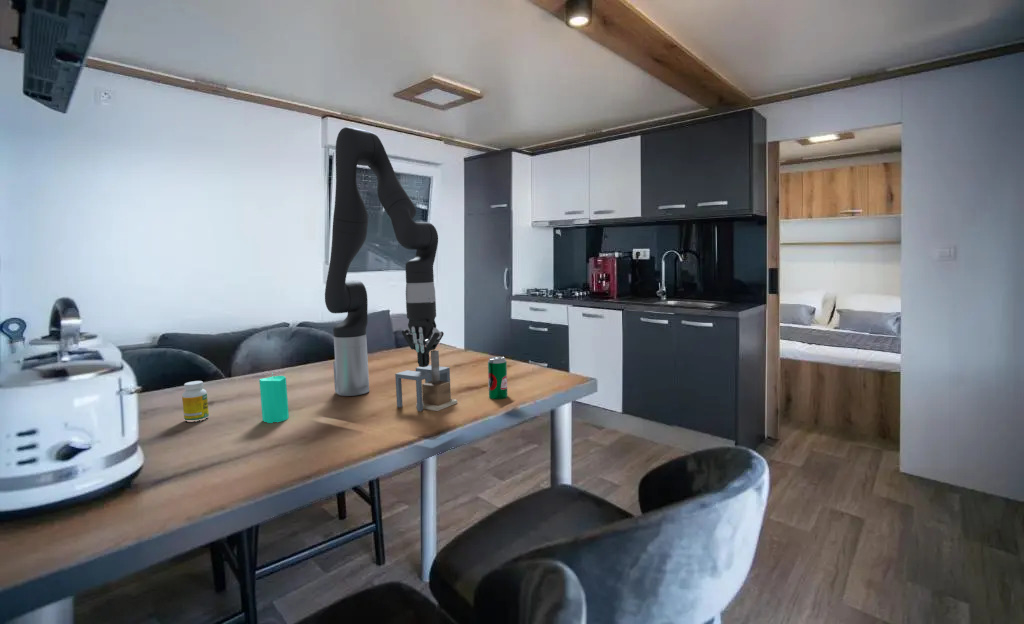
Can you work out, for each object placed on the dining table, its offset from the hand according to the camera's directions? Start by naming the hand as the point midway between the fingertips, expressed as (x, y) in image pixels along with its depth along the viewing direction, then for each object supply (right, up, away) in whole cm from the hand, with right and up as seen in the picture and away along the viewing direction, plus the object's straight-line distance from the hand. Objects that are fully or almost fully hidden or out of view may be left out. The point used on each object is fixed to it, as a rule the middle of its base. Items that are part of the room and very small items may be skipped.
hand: (423, 366), depth 133 cm
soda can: (+19, -10, +6) cm, 23 cm away
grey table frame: (-1, -11, +2) cm, 11 cm away
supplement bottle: (-57, -13, -4) cm, 58 cm away
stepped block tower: (+4, -10, -1) cm, 11 cm away
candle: (-36, -13, -5) cm, 39 cm away
